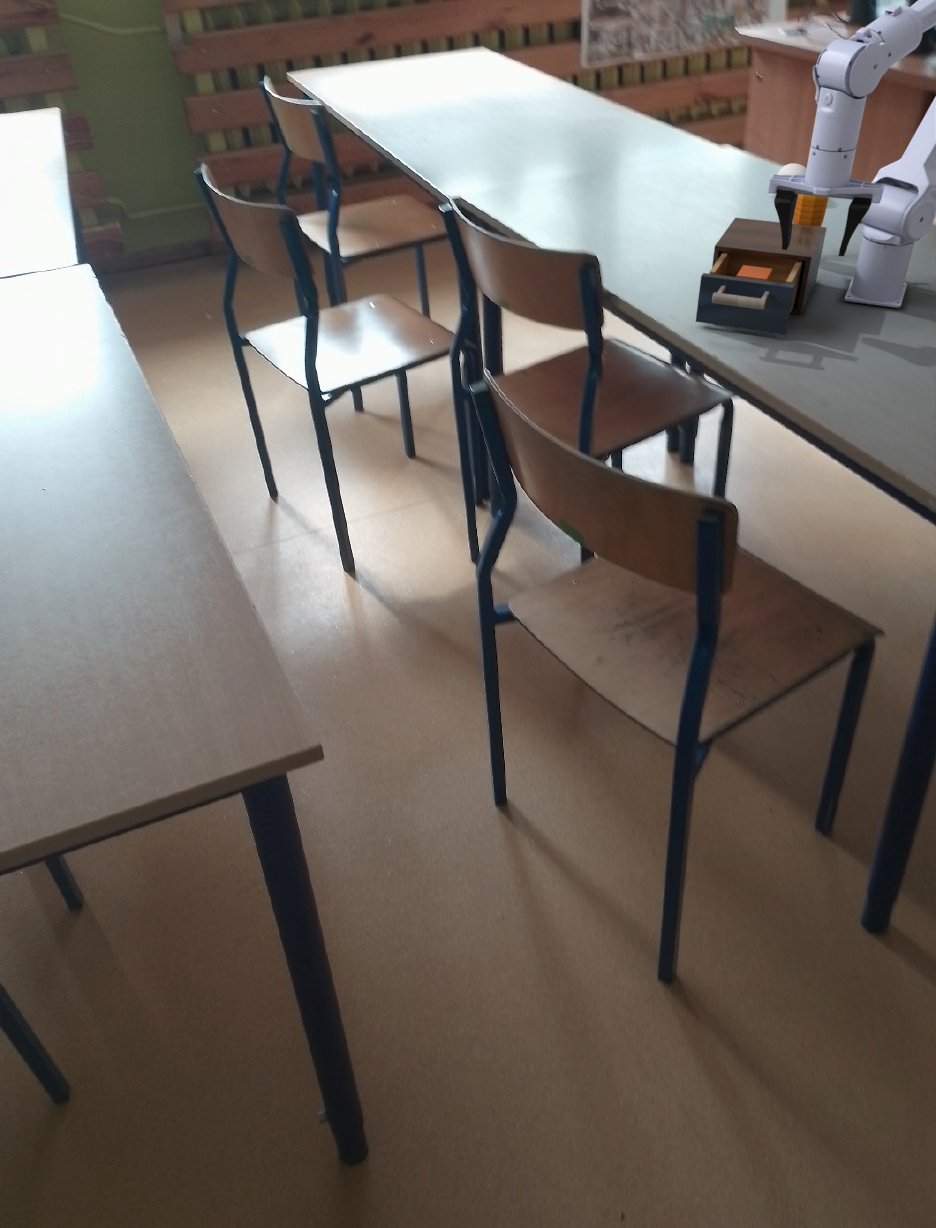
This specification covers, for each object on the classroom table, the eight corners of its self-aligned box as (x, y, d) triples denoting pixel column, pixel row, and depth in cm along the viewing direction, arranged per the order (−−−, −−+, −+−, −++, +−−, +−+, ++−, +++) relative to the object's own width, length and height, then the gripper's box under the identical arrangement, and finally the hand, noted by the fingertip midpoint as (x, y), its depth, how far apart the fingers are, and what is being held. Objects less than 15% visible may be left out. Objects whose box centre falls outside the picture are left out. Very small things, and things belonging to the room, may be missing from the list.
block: (731, 309, 142) (736, 275, 139) (738, 298, 145) (743, 265, 142) (761, 313, 140) (766, 279, 137) (766, 302, 143) (772, 268, 140)
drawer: (778, 348, 134) (786, 300, 130) (687, 334, 138) (692, 287, 134) (800, 302, 146) (809, 256, 142) (716, 290, 150) (721, 246, 146)
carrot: (783, 253, 164) (800, 157, 154) (814, 254, 163) (833, 157, 154) (787, 264, 160) (804, 166, 150) (818, 264, 159) (837, 166, 150)
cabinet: (800, 314, 144) (811, 257, 139) (707, 301, 149) (714, 245, 144) (815, 282, 154) (826, 227, 148) (727, 271, 158) (735, 217, 153)
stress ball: (806, 218, 187) (831, 186, 184) (780, 198, 182) (804, 164, 179) (786, 205, 192) (809, 173, 189) (760, 184, 188) (783, 152, 185)
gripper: (770, 149, 128) (754, 254, 137) (888, 159, 123) (863, 266, 132) (781, 135, 133) (765, 237, 142) (894, 144, 128) (871, 249, 137)
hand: (813, 250), depth 137 cm, fingers open, 7 cm apart
